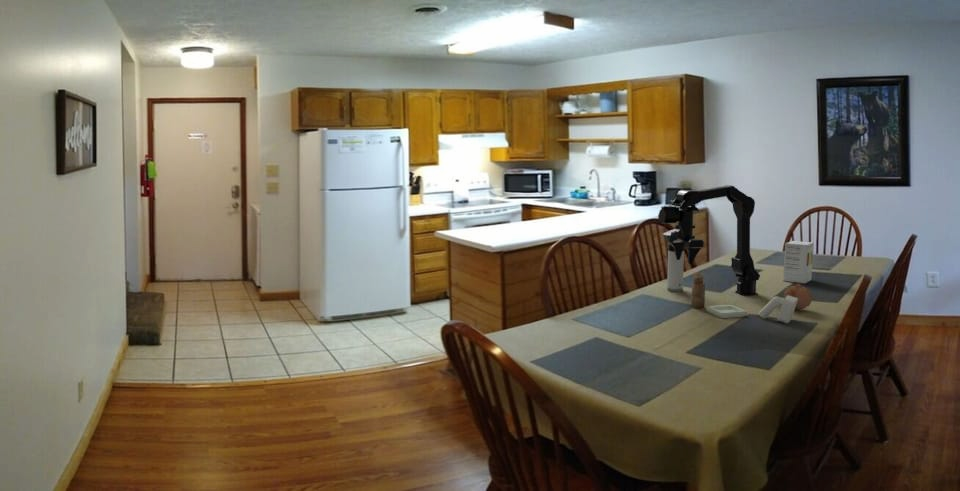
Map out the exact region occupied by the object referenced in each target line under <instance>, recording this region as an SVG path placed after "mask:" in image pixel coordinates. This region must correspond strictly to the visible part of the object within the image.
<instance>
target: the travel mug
mask: <svg viewBox="0 0 960 491" xmlns="http://www.w3.org/2000/svg"><path fill="white" fill-rule="evenodd" d="M667 254H668V256H667V277H666V278H667V281H666V282H667V284H666V289H667V291H668V292H669V291H670V292H676V293H677V292H682V291H683V290H684V288H683V286H684V263H685V262H684V261H685V260H684V259H685V244H684V247H683V251H682V254H681V257H680V260H677V259H676V255H675V251H674V248H673V246H672V245H671V244H670V243H668V250H667Z"/></svg>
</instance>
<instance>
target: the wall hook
mask: <svg viewBox="0 0 960 491" xmlns="http://www.w3.org/2000/svg"><path fill="white" fill-rule="evenodd" d="M797 301H798V298H795V297H792V296H789V295H788V296H787V297H786V298H785V299H784V298H783V300H782V298H781V297H780V296H774V297H772V298H771V299H770V301H768V303H767V304H766V305H765V306H763V308H761V310H760V311H759V312H758V315H759V317H761V318H762V319H764V320H766V318H768V317H769V316H771V314H772V313H773V312H774V311H775V310H776V309H777V308H778V307H779V306H781V307H780V310H779V313H778V316H777V319H776V320H777V321H778V322H782V323H784V324H787V323H788V324H789V323H790V321H791V320H792V318H793V316H794V313H795V311H796V310H795V307H796V304H797Z"/></svg>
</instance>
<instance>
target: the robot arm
mask: <svg viewBox="0 0 960 491" xmlns="http://www.w3.org/2000/svg"><path fill="white" fill-rule="evenodd" d="M724 197H726V198H727V200H728V201H729V202H730V203H731V205H732V208H733V209H732V210H733V213H734V215H735V217H736V254H735V256H734V257H731V258H730V259H731V266H730V268H732V271H733V272H734V273H735V277H737V282H736V290H735V291H734V292H735V293H736V294H739V295H742V296H754V295H759V293H758V292H757V281H759V280H760V277H761V275H760V274H759V272H758V271H757V270H756V269H755V262H754V260H753V257H752V255H751V217H752V216H753V214H754V212H755V206H756V203H755V199H754V198H753V197H751V196H748V195H747V194H745V193H744V192H742V191H740V190H739V189H738V188H736V186H734V185H729V184H725V185H723V186H716V187H712V188H707V189H706V188H705V189H700V190H699V189H698V190H695V189H694V190H692V189H681V190H679V191H678V192H677V193H676V197H675V199H673V201H672V203H671V204H670V206H669V205H668V206H667V205H661V209H660V210H659V212H658V214H657V215H658V216H657V217H658V218H657V219H658V221H659V223H660V224H661V225H663V224H664V225H665V224H675V225H674V228H673V229H671V230H668V231H666V232H663V234H662V235H663V238H664V242H667V243H668V244H671V245H672V246H673V248H674V251H675V255H676V259H677V260H680V257H681V254H682V251H683V247H684V250H685V249H686V251H687V262H688V265H692V264H693V262H694V261H695V258H696V257H697V255H698V253H699V252H700V250H702V248H704V247H705V242H704V240H703V239H701V238H699V237H698V238H696V235H693V234H694V233H693V232H694V229H695V228H696V225H694V213H695V212H699V211H700V208H697V206H696V205H697V204H699V203H701V202H703V201H707V200H713V199H719V198H724ZM684 244H685V245H684Z"/></svg>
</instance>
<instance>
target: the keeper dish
mask: <svg viewBox="0 0 960 491" xmlns="http://www.w3.org/2000/svg"><path fill="white" fill-rule="evenodd" d="M705 312H707V313H710V314H711V315H714V316H716V317H718V318H720V319H729V318H741V317H747V316H748V311H747V310H746V309H745V310H744V309H742V308H740V307H738V306H735V305H733V304H720V305H710V306H709V305H708V306H706V310H705Z"/></svg>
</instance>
